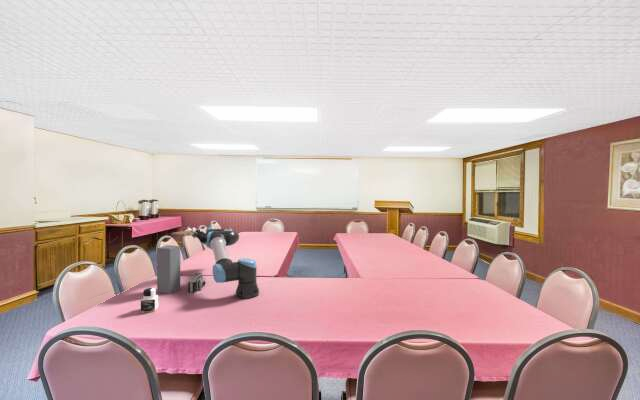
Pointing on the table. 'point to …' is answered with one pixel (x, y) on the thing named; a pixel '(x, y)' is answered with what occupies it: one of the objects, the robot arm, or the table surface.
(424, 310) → the table surface
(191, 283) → the camera
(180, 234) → the walnut paddle board
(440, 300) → the table surface
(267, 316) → the table surface
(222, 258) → the robot arm
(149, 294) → the medicine bottle
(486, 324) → the table surface
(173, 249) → the charcoal pedestal
